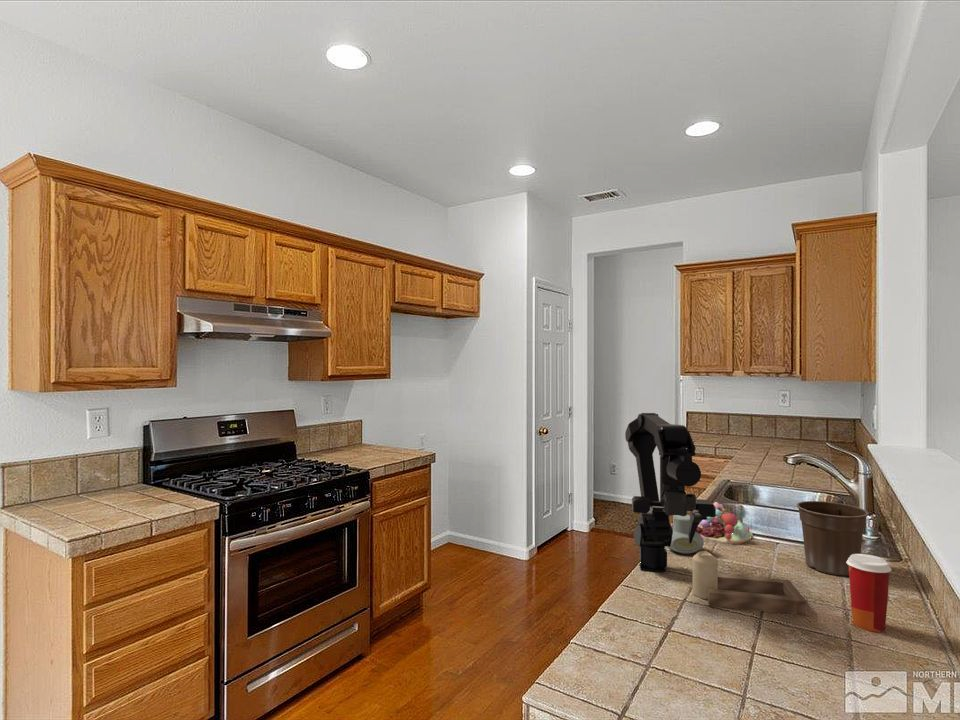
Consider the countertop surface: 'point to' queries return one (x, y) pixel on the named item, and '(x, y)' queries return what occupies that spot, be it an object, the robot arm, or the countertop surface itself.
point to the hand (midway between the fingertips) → (672, 541)
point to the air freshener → (684, 536)
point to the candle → (704, 574)
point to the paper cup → (869, 591)
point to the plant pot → (831, 534)
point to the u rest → (757, 595)
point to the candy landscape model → (722, 527)
